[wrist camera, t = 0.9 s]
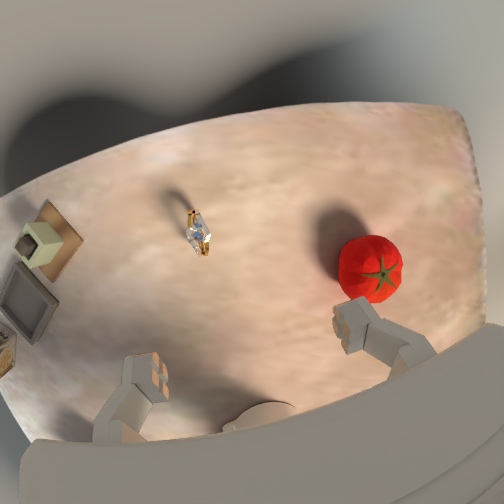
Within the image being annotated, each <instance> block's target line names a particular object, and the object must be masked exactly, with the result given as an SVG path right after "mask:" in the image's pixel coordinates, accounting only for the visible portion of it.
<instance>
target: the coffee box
mask: <svg viewBox="0 0 504 504" xmlns="http://www.w3.org/2000/svg"><path fill="white" fill-rule="evenodd" d="M15 347H16V333H14V332H13V331H12V330H10V329H9V328H7V327H6V326H4V325H3V324H1V323H0V378H1V377H3V376H4V375H5V374H6V373H7V372H8V371H9V370H11V369H12V368H13V367H14V366H15Z"/></svg>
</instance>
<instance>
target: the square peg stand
mask: <svg viewBox="0 0 504 504" xmlns="http://www.w3.org/2000/svg"><path fill="white" fill-rule="evenodd" d="M35 222H48V223H49V224H50V225H51V226H52V228H53V229H54V230H55V231H56V232H57V234H58V235H59V236H60V237H61V238H62V240H63V241H64V243H63V245H62V246H61V248H60V249H59V251H58V252H57V253H56V255H55V256H54V258H53V259H52V261H51V262H50V263H48V264H45V265H41V266H38V267H39V268H40V269H41V270H42V272H43V273H44V274H45V275H46V276H47V278H48V279H49V280H50V281H51V282H52V283H53V282H55V281H56V279H57V278H58V276H59V275H60V273H61V272H62V270H63V269H64V267H65V266H66V265H67V263H68V262H69V260H70V259H71V257H72V256H73V255H74V253H75V252H76V251H77V249H78V248H79V246H80V245H81V244H82V242H83V241H84V240H83V239H82V238H81V237H80V236H79V235H78V234H77V233H76V231H75V230H74V229H73V228H72V227H71V226H70V225H69V223H68V222H67V221H66V220H65V219H64V218H63V216H62V215H61V214H60V213H59V212H58V210H57V209H56V208H55V207H54V206H53V204H52V203H51V202H48V203H47V204H46V206H45V207H44V209H43V210H42V212H41V213H40V215H39V216H38V218H37V219H36V221H35ZM38 246H39V245H38V244H37V242H36V241H35V240H34V239H33V237H32V236H27V237H20V238H19V240H18V242H17V244H16V245H15V249H16V250H17V251H18V253H19V254H20V255H21V256H26V255H31V254H34V252H35V250H36V249H37V247H38Z"/></svg>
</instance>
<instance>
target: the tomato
mask: <svg viewBox="0 0 504 504" xmlns="http://www.w3.org/2000/svg"><path fill="white" fill-rule="evenodd" d="M402 266H403V262H402V258H401V255H400V253H399V251H398V249H397V247H396V246H395V245H394V244H393V243H392V242H390V241H389V240H388V239H386V238H385V237H382V236H377V235H368V236H365V237H362V238H359V239H354V240H351V241H350V242H348V243H347V244H346V245H345V246H344V247H343V249H342V251H341V253H340V256H339V265H338V281H339V283H340V285H341V288H342V289H343V291H344V293H345V294H346V295H347V296H348V297H349V298H350V299H351V300H352V299H356V298H359V297H362V296H364V297H366V299H367V300H368V301H369V303H381V302H382V301H384V300H385V299H387V298H388V297H390V296H391V295H392V294H393V293H394V292H396V290H397V289H398V287H399V285H400V284H401V269H402Z"/></svg>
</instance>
